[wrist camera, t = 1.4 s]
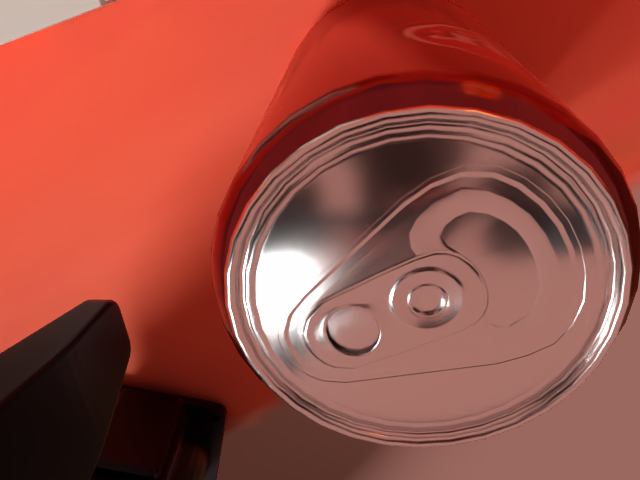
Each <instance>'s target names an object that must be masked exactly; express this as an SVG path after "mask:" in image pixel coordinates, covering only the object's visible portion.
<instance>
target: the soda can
mask: <svg viewBox="0 0 640 480" xmlns="http://www.w3.org/2000/svg"><path fill="white" fill-rule="evenodd" d="M211 256H212V280H213V288H214V291H215V295H216V299H217V302H218V306H219V310H220V313H221V317H222V321H223V324H224V326H225V328H226V330H227V332H228V333H229V335H230V337H231V339H232V341H233V343H234V345H235V347H236V349H237V351H238V353H239V354H240V355H241V357H242V358H243V359H244V360H245V362H246V363H247V364H248V365H249V366H250V368H251V369H252V370H253V371H254V373H255V374H256V375H257V376H258V378H259V379H260V380H261V381H263V382H264V383H265V384H266V386H267V387H268V388H269V389H271V390H272V391H273V392H274V393H275V394H277V395H278V396H279V397H280V398H281V399H282V400H284V401H285V402H286V403H287V404H288V405H289V406H291V407H292V408H293V409H295V410H296V411H298V412H300V413H301V414H303V415H305V416H307V417H308V418H310V419H311V420H313V421H315V422H317V423H318V424H320V425H322V426H324V427H327V428H329V429H332V430H335V431H337V432H340V433H342V434H345V435H347V436H350V437H353V438H357V439H362V440H366V441H370V442H375V443H379V444H383V445H394V446H406V447H435V446H452V445H457V444H462V443H467V442H472V441H477V440H482V439H486V438H489V437H492V436H495V435H497V434H500V433H503V432H506V431H509V430H512V429H514V428H517V427H519V426H521V425H523V424H525V423H527V422H529V421H530V420H532V419H534V418H536V417H538V416H540V415H542V414H544V413H545V412H547V411H549V410H550V409H552V408H553V407H554V406H556V405H557V404H558V403H559V402H561V401H562V400H563V399H565V398H566V397H567V396H569V395H570V394H571V393H573V392H574V391H575V390H576V389H577V388H578V387H579V386H580V385H581V384H582V382H584V381H585V380H586V379H587V377H588V376H589V375H590V374H591V373H592V372H593V371H594V370H595V369H596V368H597V366H598V365H599V364H600V363H601V362H602V360H603V358H604V357H605V355H606V353H607V352H608V350H609V348H610V347H611V345H612V344H613V342H614V341H615V339H616V337H617V336H618V334H619V332H620V331H621V329H622V327H623V326H624V324H625V323H626V320H627V317H628V314H629V311H630V309H631V306H632V303H633V300H634V297H635V294H636V292H637V289H638V282H639V272H640V227H639V219H638V211H637V206H636V203H635V201H634V198H633V196H632V193H631V190H630V188H629V185H628V183H627V180H626V178H625V175H624V173H623V170H622V169H621V167H620V166H619V165H618V163H617V162H616V161H615V159H614V158H613V156H612V155H611V154H610V152H609V151H608V150H607V148H606V147H605V145H604V144H603V143H602V141H601V140H600V139H599V137H598V136H597V135H596V134H595V133H594V132H593V131H592V130H591V129H590V128H589V127H588V126H587V125H586V124H584V123H583V122H582V121H581V120H580V119H579V118H578V117H577V116H576V115H575V114H574V113H573V112H572V111H571V110H570V109H569V108H568V107H567V106H566V105H565V104H563V103H562V102H561V101H560V100H559V99H558V98H557V97H556V96H555V95H554V94H553V93H552V92H551V91H550V90H549V89H548V88H547V87H546V86H545V85H544V84H543V83H541V82H540V81H539V80H538V79H537V78H536V77H535V76H534V75H533V74H532V73H531V72H530V71H529V70H528V69H527V68H526V67H525V66H524V65H523V64H522V63H520V62H519V61H518V60H517V59H516V58H515V57H514V56H513V55H512V54H511V53H510V52H509V51H508V50H507V49H506V48H505V47H504V46H503V45H502V44H501V43H499V42H498V41H497V40H496V39H495V38H494V37H493V36H492V35H491V34H490V33H489V32H488V31H487V30H486V29H485V28H484V27H483V26H482V25H481V24H480V23H478V22H477V21H476V20H475V19H474V18H473V17H471V16H470V15H469V14H468V13H467V12H466V11H464V10H463V9H462V8H461V7H459V6H457V5H455V4H453V3H451V2H449V1H447V0H349V1H347V2H346V3H344V4H342V5H341V6H339V7H337V8H336V9H334V10H333V11H331V12H329V13H328V14H327V15H326V16H324V17H323V18H322V19H321V20H320V21H319V22H318V23H317V24H316V25H315V26H314V27H313V28H312V29H311V30H310V31H309V32H308V34H307V35H306V37H305V38H304V39H303V41H302V42H301V44H300V45H299V47H298V48H297V50H296V52H295V54H294V56H293V58H292V60H291V62H290V64H289V66H288V68H287V70H286V72H285V74H284V76H283V78H282V80H281V82H280V84H279V86H278V89H277V91H276V93H275V95H274V97H273V99H272V101H271V103H270V105H269V107H268V109H267V111H266V113H265V115H264V117H263V119H262V121H261V123H260V125H259V127H258V129H257V131H256V134H255V136H254V138H253V140H252V142H251V144H250V146H249V148H248V150H247V152H246V154H245V156H244V158H243V160H242V162H241V164H240V166H239V168H238V170H237V172H236V174H235V176H234V179H233V181H232V183H231V185H230V188H229V190H228V192H227V195H226V197H225V199H224V201H223V204H222V206H221V208H220V211H219V213H218V217H217V222H216V227H215V233H214V238H213V243H212V249H211Z"/></svg>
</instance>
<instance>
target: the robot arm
mask: <svg viewBox="0 0 640 480" xmlns="http://www.w3.org/2000/svg"><path fill="white" fill-rule="evenodd" d="M130 352H131V346H130V340H129V336H128V333H127V330H126V327H125V324H124V321H123V317H122V314H121V311H120V308H119V306H118V304H117V303H116V302H115V301H113V300H87V301H85V302H83V303H81V304H80V305H78V306H77V307H75V308H73V309H72V310H70V311H68V312H67V313H65V314H64V315H62V316H60V317H59V318H57V319H55V320H54V321H52V322H51V323H49V324H47V325H46V326H44V327H42V328H41V329H39V330H38V331H36V332H34V333H33V334H31V335H29V336H28V337H26V338H25V339H23V340H21V341H20V342H18V343H17V344H15V345H13V346H12V347H10V348H8V349H7V350H5V351H4V352H2V353H0V480H216V478H217V471H218V466H219V460H220V454H221V447H222V442H223V436H224V430H225V424H226V418H227V410H226V408H225V407H224V406H223V405H221V404H218V403H213V402H208V401H203V400H198V399H193V398H187V397H182V396H177V395H172V394H166V393H161V392H156V391H151V390H145V389H140V388H135V387H130V386H124V385H122V382H123V379H124V375H125V372H126V369H127V365H128V362H129V358H130ZM213 414H217V415H219V416H216V415H213Z"/></svg>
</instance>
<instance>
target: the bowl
mask: <svg viewBox="0 0 640 480" xmlns="http://www.w3.org/2000/svg"><path fill="white" fill-rule="evenodd" d="M117 1H120V0H0V45H3V44H5V43H8V42H11V41H14V40H16V39H19V38H22V37H25V36H27V35H30V34H33V33H36V32H38V31H41V30H44V29H46V28H49V27H52V26H55V25H57V24H60V23H63V22H65V21H68V20H71V19H73V18H76V17H78V16H81V15H84V14H86V13H89V12H91V11H94V10H96V9H99V8H102V7H104V6H107V5H109V4H112V3H115V2H117Z"/></svg>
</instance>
